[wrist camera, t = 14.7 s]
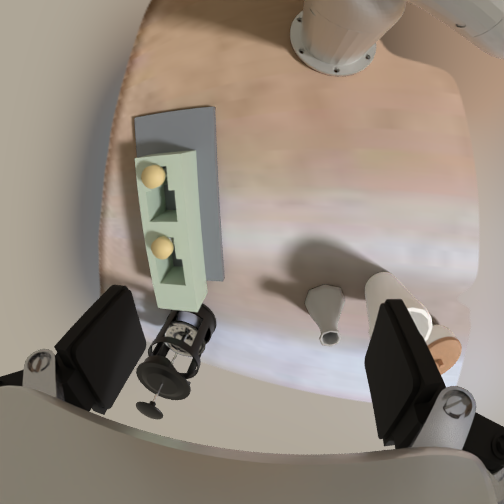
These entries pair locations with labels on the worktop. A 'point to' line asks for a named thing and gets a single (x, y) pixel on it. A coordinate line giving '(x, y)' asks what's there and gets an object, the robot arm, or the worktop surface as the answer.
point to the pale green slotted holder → (174, 231)
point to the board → (204, 142)
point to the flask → (326, 311)
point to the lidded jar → (443, 347)
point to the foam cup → (392, 288)
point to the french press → (161, 369)
